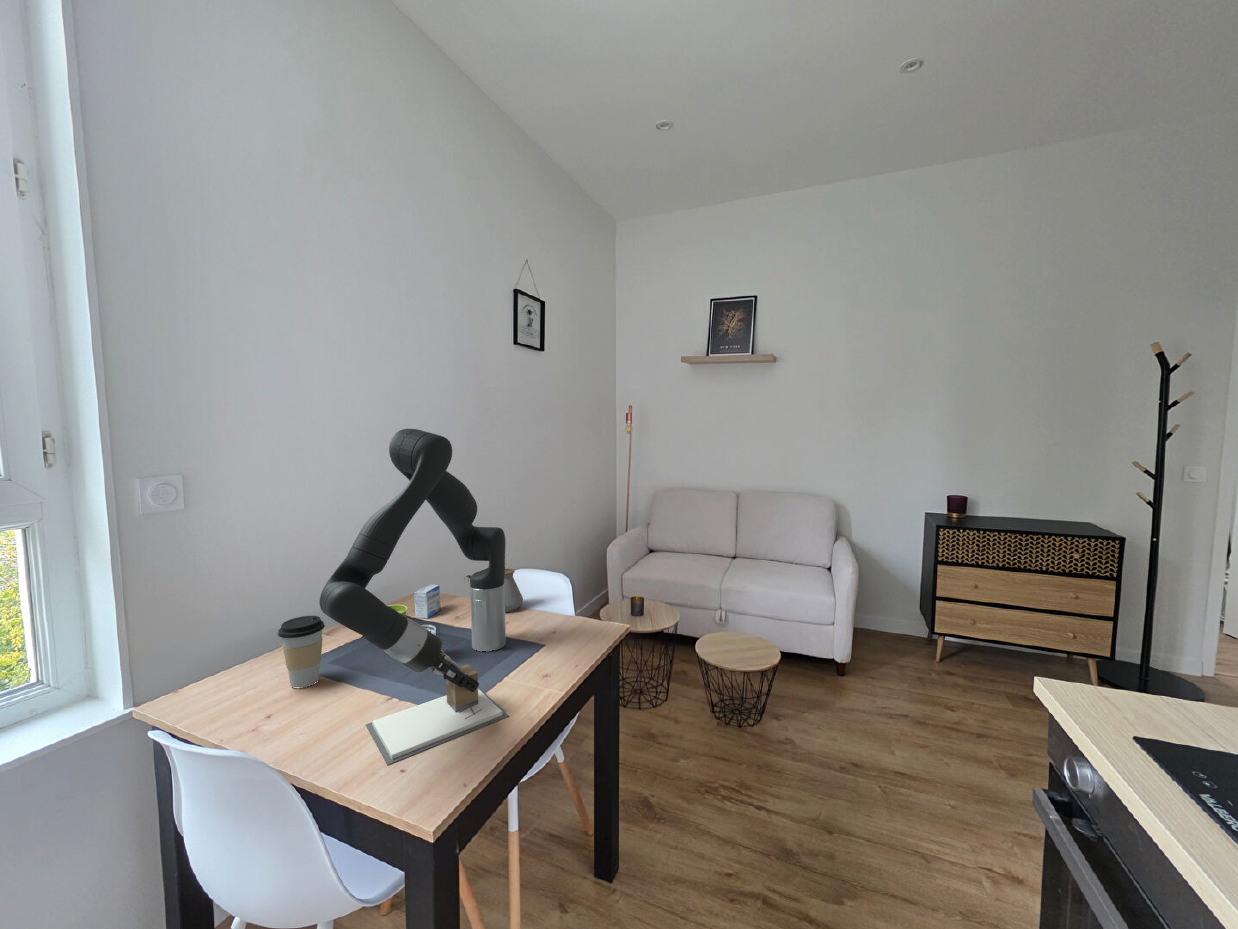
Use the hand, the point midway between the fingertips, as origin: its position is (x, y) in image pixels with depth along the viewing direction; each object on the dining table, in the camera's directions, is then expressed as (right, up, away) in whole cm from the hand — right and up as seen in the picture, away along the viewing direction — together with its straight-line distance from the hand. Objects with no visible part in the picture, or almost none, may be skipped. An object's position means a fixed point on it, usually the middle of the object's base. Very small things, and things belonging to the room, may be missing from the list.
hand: (470, 682), depth 110 cm
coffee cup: (-43, -5, +11) cm, 44 cm away
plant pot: (-33, -3, +35) cm, 48 cm away
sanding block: (-1, -4, -1) cm, 4 cm away
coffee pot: (-9, -1, +55) cm, 56 cm away
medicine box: (-30, -2, +55) cm, 62 cm away
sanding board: (-5, -6, -6) cm, 9 cm away
